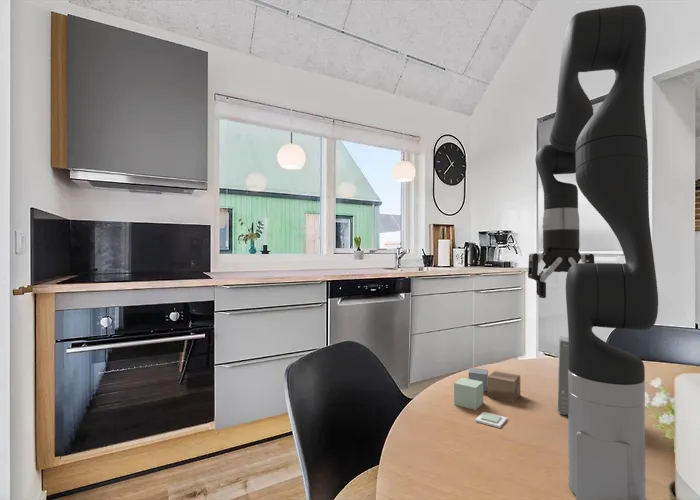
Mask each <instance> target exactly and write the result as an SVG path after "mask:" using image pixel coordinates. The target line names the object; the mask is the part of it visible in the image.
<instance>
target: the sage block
mask: <svg viewBox="0 0 700 500" xmlns="http://www.w3.org/2000/svg"><path fill="white" fill-rule="evenodd" d="M453 385H454V386H453V390H454V392H453V393H454V394H453V396H454V399H453V405H455V406H459V407H462V408H467V409H470V410H475V411H476V410H478V409H479V408H480V407H481V406H482V405H483V404H484V391H483V382H482V381H477V380H472V379H469V378H468V377H467V378H465V377H461V378H459V379H458V380H457V381H455V382H454V383H453Z"/></svg>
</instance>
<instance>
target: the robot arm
mask: <svg viewBox="0 0 700 500" xmlns="http://www.w3.org/2000/svg"><path fill="white" fill-rule="evenodd" d="M646 21H647V20H646V14H645V12H644V8H642V7H641V6H639V5H636V4H626V5H625V4H624V5H619V6H610V7H603V8H595V9H589V10H584V11H579V12H578V13H575V14H574V15H573V16H572V17H571V19H570V20H569V22H568V25H567V26H566V30H565V33H564V37H563V41H562V48H561V49H562V50H561V57H560V65H559V66H560V67H559V74H558V75H559V76H558V82H557V83H558V85H557V97H556V98H557V99H556V100H557V101H556V107H555V109H556V110H555V113H554V115H555V116H554V118H553V122H552V127H551V131H550V134H549V143H550V144H545V145H542V146H541V147H540V148H539V149H538V150H537V152H536V154H535V166H536V169H537V172H538V175H539V177H540V181H541V185H542V189H543V217H542V249H543V252H542V254H541V253H540V254H539V253H537V252H534V253H529V254H528V268H527V277H528V279H531V280H534V281H535V282H536V295H537V296H538V297H539V298H541V299H546V298H547V282H546V280H547V279H548V278H549V276H551V275H552V274H553V273H561V272H562V273H566V278H565V300H566V301H565V302H566V315H567V329H568V330H567V331H568V335H567V336H568V337H569V350H568V415H567V416H568V419H567V420H568V427H567V428H568V433H567V434H568V436H567V437H568V442H567V443H568V485H569V489H570V491H571V492H572V493H573V494H574V495H575V499H576V500H646V413H645V412H646V409H645V408H646V407H645V406H646V393H645V391H646V390H645V389H646V385H645V384H646V382H645V381H646V380H645V379H646V377H645V375H646V374H645V373H646V369H645V365H644V361H643V359H641V358H640V357H638V356H637V355H636V354H633V353H631V352H629V351H626V350H623V349H621V348H619V347H616V346H614V345H611V344H609V343H608V342H606V341H604V340H603V339H601V338H600V337H598V336H597V335H596V334H595V333H594V332H593V327H594V328H595V327H597V328H608V329H618V330H619V329H623V330H635V331H639V330H640V331H647V330H650V329H651V328H653V326H654V325H655V324H656V322H657V317H658V313H659V312H658V311H659V291H658V284H657V282H658V281H657V273H656V266H655V258H654V251H653V250H654V249H653V242H652V234H651V226H650V225H651V224H650V208H649V206H650V205H649V204H650V203H649V202H650V201H649V197H650V196H649V151H648V150H649V149H648V148H649V147H648V136H647V124H646V113H645V111H646V110H645V93H644V92H645V89H644V88H645V86H644V83H645V66H646V65H645V63H646V62H645V61H646V46H647V43H646V42H647V22H646ZM612 70H613V71H614V73H615V79H614V83H613V85H612V87H611V88H610V90H609V92H608V93H607V96H606V97H605V99H604V100H603V101H602V102H601V104H600V105H599V107H598V108H597V109H596V111H595V112H594V108H593V104H592V102H591V100H590V98H589V97H588V95H587V93H586V92H585V90H584V89H583V87H582V85H581V83H580V79H579V73H587V72H598V71H600V72H601V71H612ZM570 174H575V181H576V184H577V185H576V184H574V183H570V182H563V181H561V180H560V181H559V180H558V179H556V177H555V176H554V175H570ZM577 186H578V187H577ZM579 191H580V192H581V193H582V195H583V196H584V198H585V199H586V200H587V202H588V203H590V205H591V206H592V207H593V208H594V209H595V211H596V212H597V213H598V214H599V215H600V216H601V217H602V218H603V220H604V221H605V222H606V224H607V225H608V226H609V227H610V229H611V231H613V234H614V235H615V237H616V239H617V241H618V243H619V245H620V248H621V249H622V252H623V255H624V261H625V263H619V262H617V263H615V262H612V263H611V262H610V263H609V262H608V263H607V262H606V263H605V262H603V263H602V262H599V263H598V262H596V263H595V255H594V254H593V253H584V254H580V213H579ZM541 261H543V263H544V265H543V266H542V267H541V269H540V271H539V264H540V263H541ZM580 261H581V262H580ZM579 262H580V263H579Z"/></svg>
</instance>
